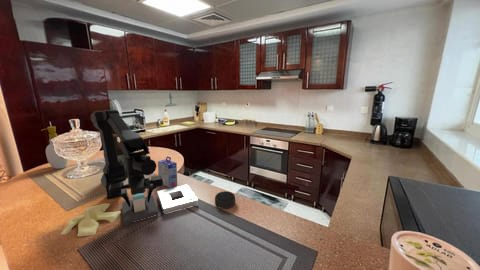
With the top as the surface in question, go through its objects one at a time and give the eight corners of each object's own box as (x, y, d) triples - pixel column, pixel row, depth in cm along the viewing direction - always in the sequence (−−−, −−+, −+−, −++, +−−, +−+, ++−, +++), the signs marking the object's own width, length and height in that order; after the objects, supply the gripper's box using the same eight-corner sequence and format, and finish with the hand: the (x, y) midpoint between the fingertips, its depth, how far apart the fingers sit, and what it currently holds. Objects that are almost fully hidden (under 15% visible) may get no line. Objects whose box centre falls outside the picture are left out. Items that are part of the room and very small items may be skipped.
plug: (134, 216, 77) (132, 198, 76) (134, 208, 82) (132, 191, 81) (146, 213, 79) (144, 195, 78) (144, 206, 84) (142, 189, 83)
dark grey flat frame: (123, 225, 72) (122, 220, 72) (122, 206, 84) (122, 202, 83) (158, 215, 78) (157, 211, 78) (153, 199, 90) (153, 195, 89)
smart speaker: (222, 196, 93) (222, 188, 92) (238, 202, 89) (238, 194, 88) (210, 205, 86) (210, 197, 85) (227, 212, 81) (227, 203, 80)
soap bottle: (43, 168, 123) (34, 127, 118) (60, 163, 131) (52, 124, 126) (56, 171, 118) (47, 129, 112) (73, 166, 126) (66, 126, 120)
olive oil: (105, 177, 111) (99, 134, 105) (126, 172, 118) (121, 131, 113) (109, 184, 103) (103, 138, 98) (131, 178, 111) (126, 135, 105)
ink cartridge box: (178, 184, 104) (176, 158, 101) (169, 188, 100) (167, 161, 97) (167, 179, 110) (165, 154, 107) (158, 182, 106) (156, 157, 103)
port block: (163, 215, 78) (163, 207, 77) (157, 197, 92) (157, 190, 91) (198, 205, 85) (197, 198, 84) (187, 190, 99) (187, 183, 98)
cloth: (101, 202, 88) (99, 189, 86) (132, 211, 81) (131, 198, 80) (36, 235, 67) (32, 219, 66) (71, 251, 61) (67, 234, 60)
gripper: (105, 181, 65) (111, 222, 69) (164, 171, 75) (167, 207, 78) (107, 170, 75) (112, 206, 78) (159, 162, 84) (162, 195, 87)
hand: (139, 204), depth 80 cm, fingers open, 6 cm apart
